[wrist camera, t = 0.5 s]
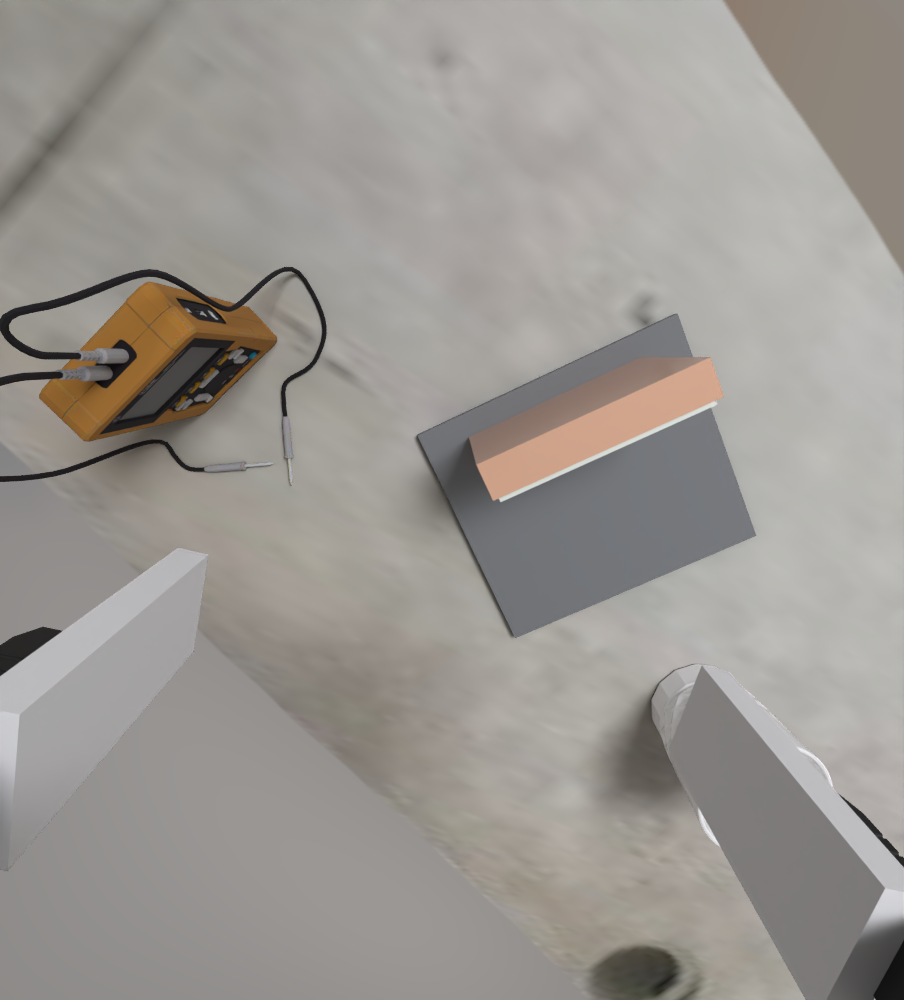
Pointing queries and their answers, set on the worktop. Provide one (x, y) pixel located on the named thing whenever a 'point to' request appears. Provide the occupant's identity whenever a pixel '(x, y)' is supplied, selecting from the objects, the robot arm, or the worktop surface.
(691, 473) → the mat
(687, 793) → the white cup
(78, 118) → the worktop surface
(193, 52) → the worktop surface
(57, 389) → the multimeter
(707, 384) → the tile
